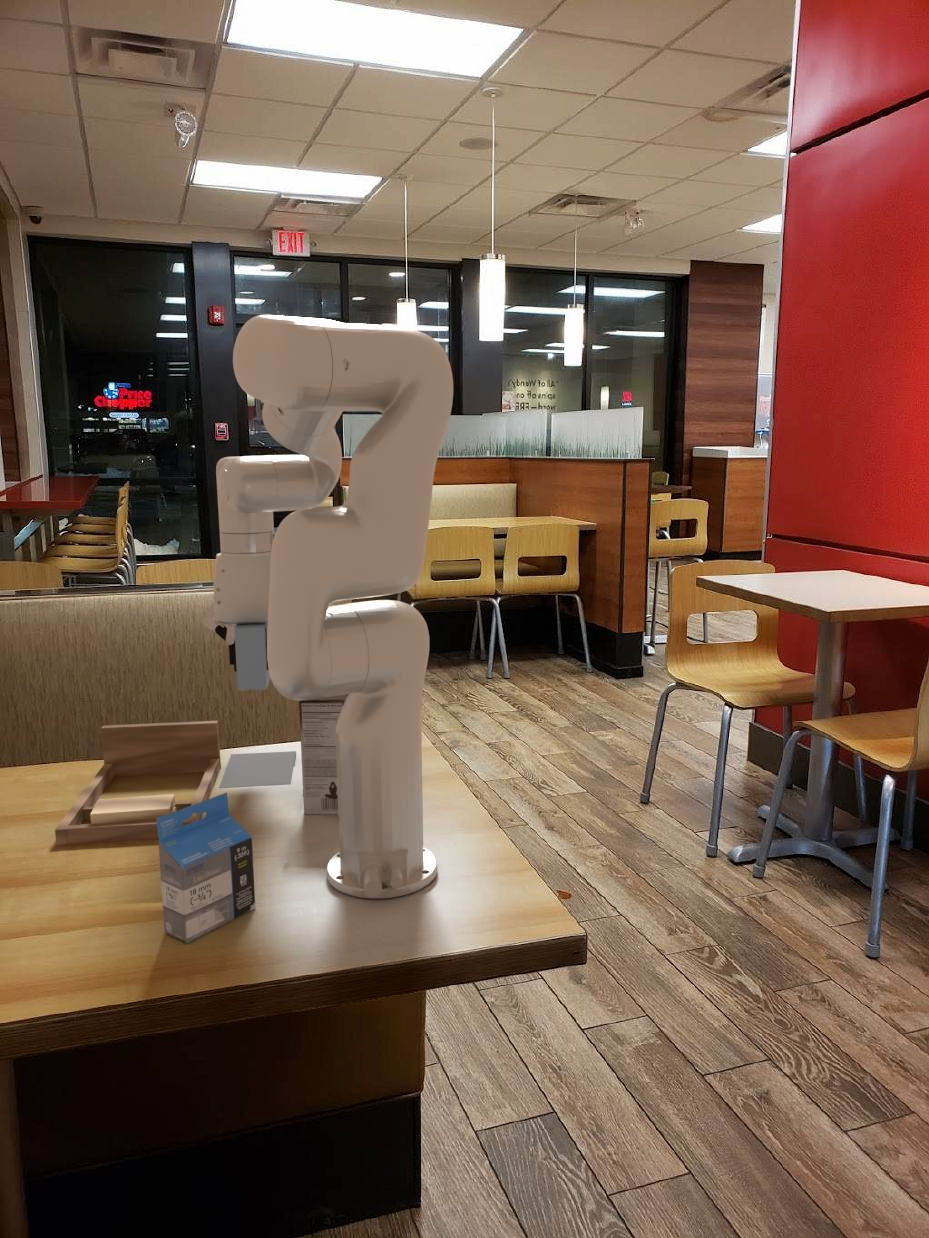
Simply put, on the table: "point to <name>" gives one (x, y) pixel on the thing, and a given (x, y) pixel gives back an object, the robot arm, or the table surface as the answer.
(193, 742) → the rack
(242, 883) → the label tape cartridge
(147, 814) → the slab top
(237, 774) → the mat
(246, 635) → the pale blue upright prism
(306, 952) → the table surface
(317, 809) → the coffee box
